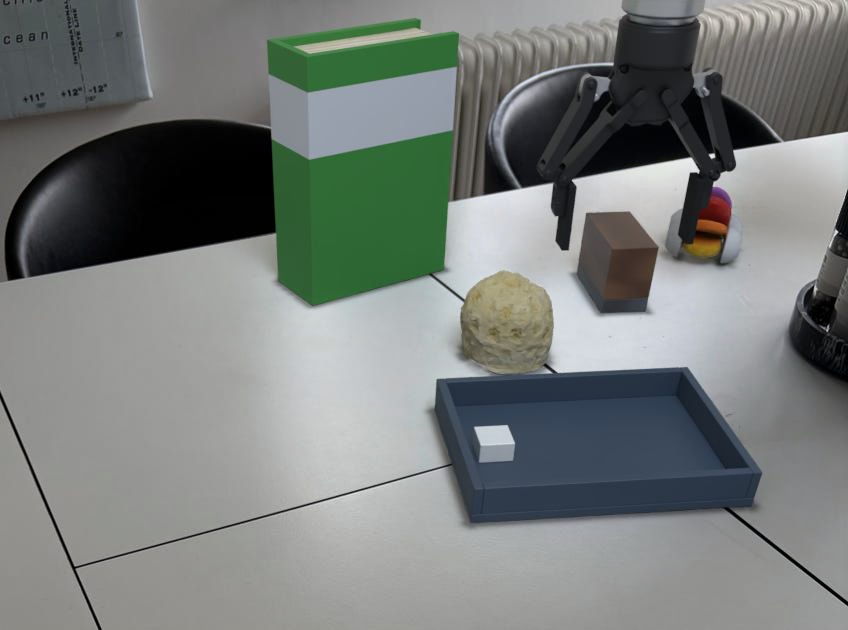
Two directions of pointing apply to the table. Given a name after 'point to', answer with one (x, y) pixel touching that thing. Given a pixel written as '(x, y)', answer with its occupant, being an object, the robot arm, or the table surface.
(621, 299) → the eraser
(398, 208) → the hardback book
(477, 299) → the decorative item
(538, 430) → the tray
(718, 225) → the rainbow disc roller
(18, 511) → the table surface
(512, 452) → the white short square block
